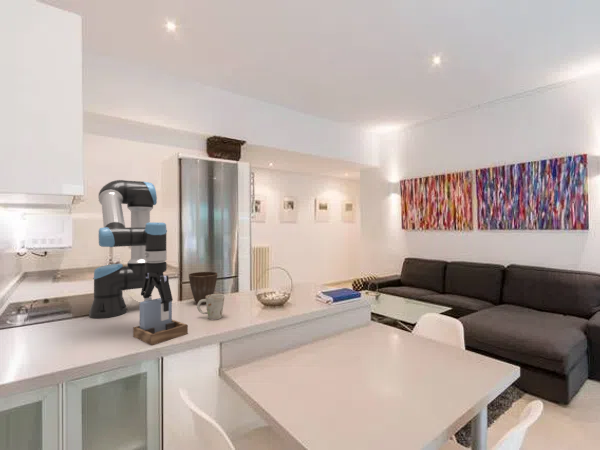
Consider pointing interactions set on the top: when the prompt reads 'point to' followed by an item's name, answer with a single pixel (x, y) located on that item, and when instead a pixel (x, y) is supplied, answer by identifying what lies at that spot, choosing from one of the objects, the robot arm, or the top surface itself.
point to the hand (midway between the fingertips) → (156, 316)
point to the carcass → (161, 333)
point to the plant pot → (202, 285)
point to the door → (153, 315)
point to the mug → (213, 306)
